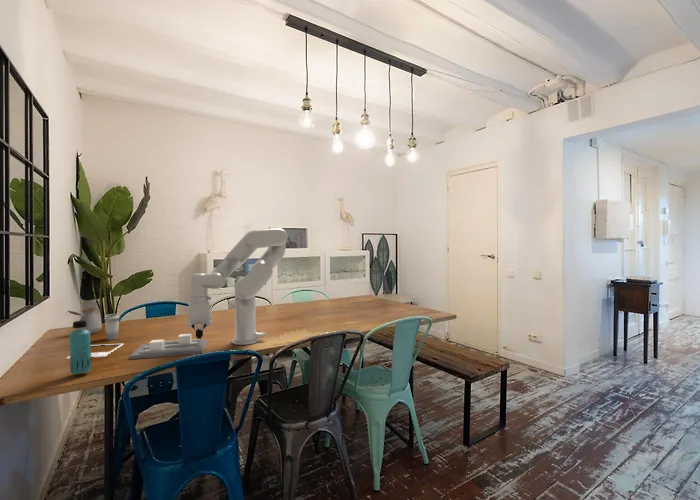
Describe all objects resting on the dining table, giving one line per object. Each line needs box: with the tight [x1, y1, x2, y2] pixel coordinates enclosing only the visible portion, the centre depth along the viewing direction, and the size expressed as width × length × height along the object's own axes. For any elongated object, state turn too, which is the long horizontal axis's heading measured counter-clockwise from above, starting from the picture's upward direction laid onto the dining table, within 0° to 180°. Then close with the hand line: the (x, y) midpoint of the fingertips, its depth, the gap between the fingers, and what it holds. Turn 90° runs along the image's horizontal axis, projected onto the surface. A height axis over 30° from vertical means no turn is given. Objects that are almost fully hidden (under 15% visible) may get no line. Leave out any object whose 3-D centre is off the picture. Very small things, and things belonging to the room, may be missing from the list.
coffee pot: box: [65, 307, 103, 335], centre depth 182 cm, size 21×12×15 cm, turn 5°
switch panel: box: [129, 338, 208, 360], centre depth 158 cm, size 28×17×2 cm, turn 106°
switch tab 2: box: [177, 333, 192, 344], centre depth 163 cm, size 5×4×4 cm
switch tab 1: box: [148, 338, 166, 350], centre depth 153 cm, size 5×4×4 cm
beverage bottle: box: [68, 320, 92, 375], centre depth 129 cm, size 6×7×20 cm
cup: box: [103, 313, 120, 341], centre depth 176 cm, size 7×7×12 cm
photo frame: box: [65, 343, 124, 360], centre depth 156 cm, size 15×1×18 cm
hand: (199, 338), depth 164 cm, fingers closed
